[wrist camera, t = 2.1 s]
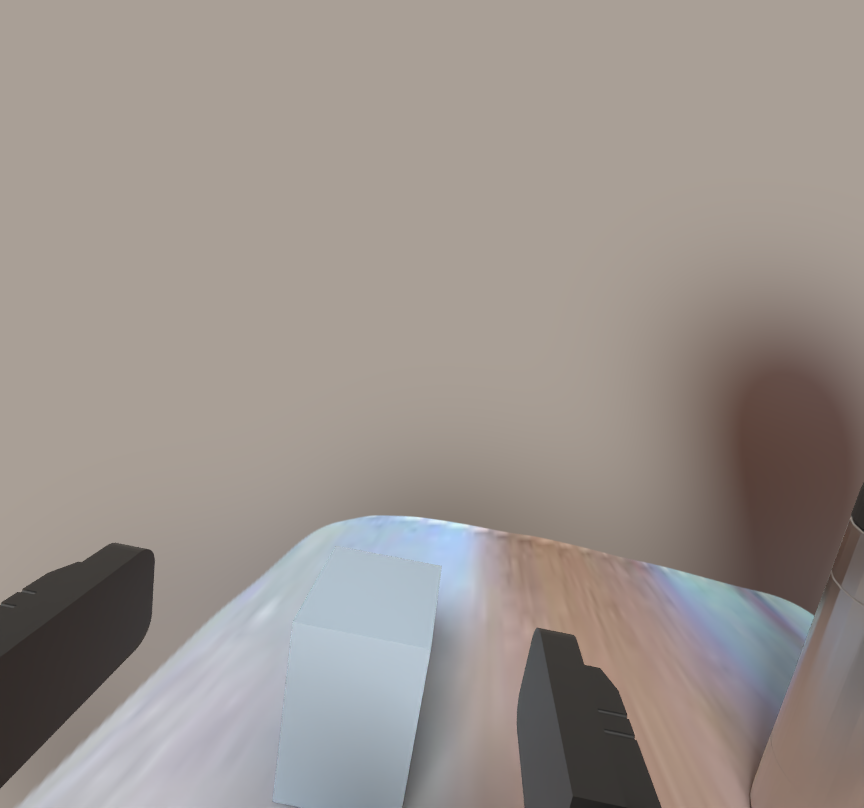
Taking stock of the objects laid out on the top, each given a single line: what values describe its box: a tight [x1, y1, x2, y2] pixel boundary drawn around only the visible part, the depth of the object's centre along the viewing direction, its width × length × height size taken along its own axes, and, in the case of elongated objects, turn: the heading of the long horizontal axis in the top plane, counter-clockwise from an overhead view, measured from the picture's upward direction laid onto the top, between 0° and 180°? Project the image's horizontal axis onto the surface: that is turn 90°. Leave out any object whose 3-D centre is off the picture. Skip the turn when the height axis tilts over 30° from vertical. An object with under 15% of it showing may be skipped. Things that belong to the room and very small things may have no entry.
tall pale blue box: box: [273, 546, 442, 808], centre depth 27 cm, size 7×6×10 cm
